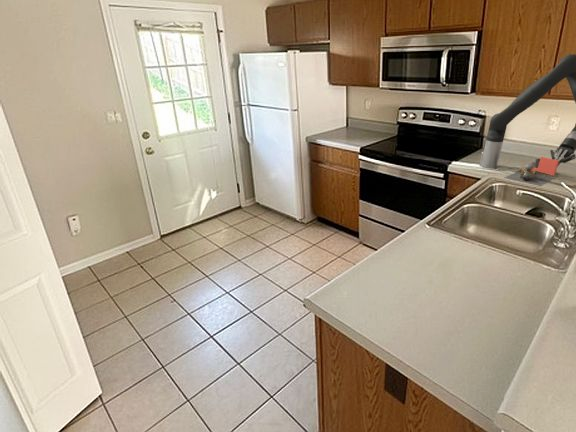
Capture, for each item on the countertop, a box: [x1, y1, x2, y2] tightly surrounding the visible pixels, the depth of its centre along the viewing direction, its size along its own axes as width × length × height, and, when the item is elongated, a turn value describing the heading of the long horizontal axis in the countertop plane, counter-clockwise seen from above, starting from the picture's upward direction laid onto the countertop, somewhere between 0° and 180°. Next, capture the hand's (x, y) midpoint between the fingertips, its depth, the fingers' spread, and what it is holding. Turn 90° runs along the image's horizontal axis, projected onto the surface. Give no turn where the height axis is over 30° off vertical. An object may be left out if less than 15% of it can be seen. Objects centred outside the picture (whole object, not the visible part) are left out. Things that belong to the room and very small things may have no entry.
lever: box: [524, 156, 559, 176], centre depth 202 cm, size 16×4×8 cm, turn 26°
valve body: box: [520, 167, 536, 181], centre depth 210 cm, size 6×16×5 cm, turn 149°
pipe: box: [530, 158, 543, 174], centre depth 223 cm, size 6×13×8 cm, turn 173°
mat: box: [503, 170, 555, 187], centre depth 210 cm, size 19×21×1 cm
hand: (553, 167), depth 198 cm, fingers closed
